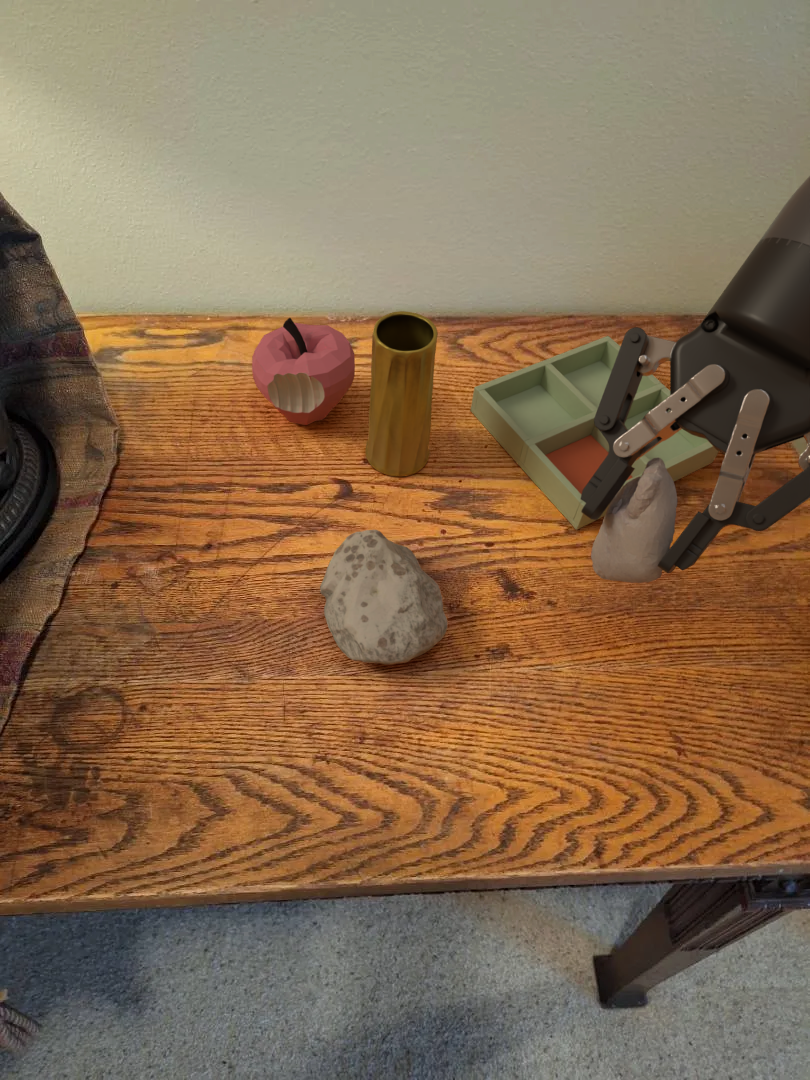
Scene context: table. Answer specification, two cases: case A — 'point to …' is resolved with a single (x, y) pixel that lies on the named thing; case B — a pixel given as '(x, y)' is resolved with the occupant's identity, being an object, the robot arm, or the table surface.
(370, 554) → the decorative stone
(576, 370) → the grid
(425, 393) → the vase
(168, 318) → the table surface
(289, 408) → the apple
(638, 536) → the grey brown rock
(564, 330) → the table surface
